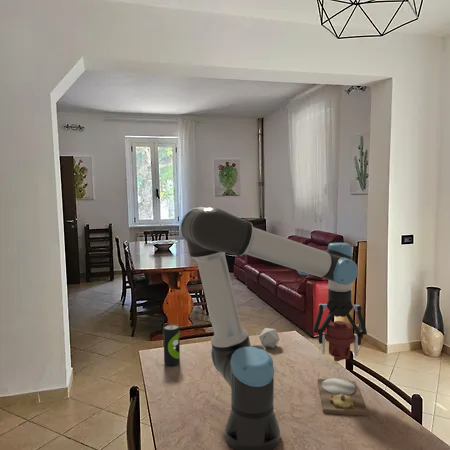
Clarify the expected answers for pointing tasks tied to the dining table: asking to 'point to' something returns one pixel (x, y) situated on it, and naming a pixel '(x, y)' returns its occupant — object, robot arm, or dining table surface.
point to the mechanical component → (339, 339)
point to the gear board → (341, 397)
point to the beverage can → (171, 345)
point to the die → (269, 338)
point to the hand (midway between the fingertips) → (339, 353)
